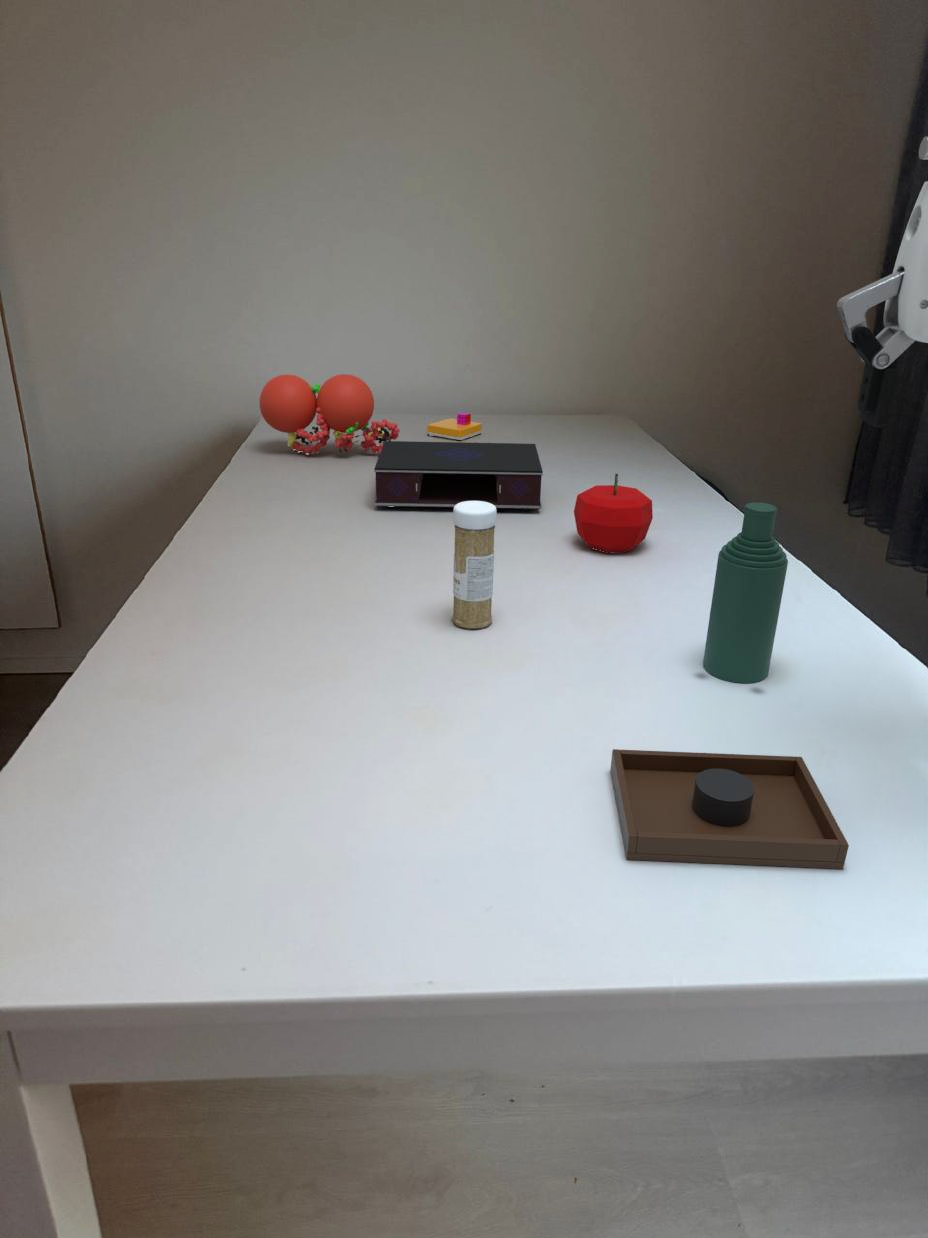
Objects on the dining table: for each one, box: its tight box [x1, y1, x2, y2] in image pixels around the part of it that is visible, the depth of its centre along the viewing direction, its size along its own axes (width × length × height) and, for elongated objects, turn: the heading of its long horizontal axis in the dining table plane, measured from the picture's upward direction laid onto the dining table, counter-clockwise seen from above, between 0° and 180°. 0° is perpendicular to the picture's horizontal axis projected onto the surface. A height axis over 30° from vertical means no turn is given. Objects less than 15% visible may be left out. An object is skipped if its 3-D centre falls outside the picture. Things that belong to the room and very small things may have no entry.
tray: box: [609, 748, 850, 870], centre depth 69 cm, size 15×11×2 cm
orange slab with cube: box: [426, 412, 483, 438], centre depth 183 cm, size 8×8×4 cm
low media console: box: [373, 440, 544, 510], centre depth 143 cm, size 17×25×7 cm
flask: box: [702, 502, 789, 684], centre depth 88 cm, size 6×6×17 cm
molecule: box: [259, 373, 401, 455], centre depth 164 cm, size 25×11×15 cm, turn 89°
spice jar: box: [451, 501, 498, 629], centre depth 98 cm, size 5×5×14 cm
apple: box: [573, 473, 654, 554], centre depth 122 cm, size 11×11×10 cm
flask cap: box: [692, 768, 754, 827], centre depth 68 cm, size 4×4×2 cm
